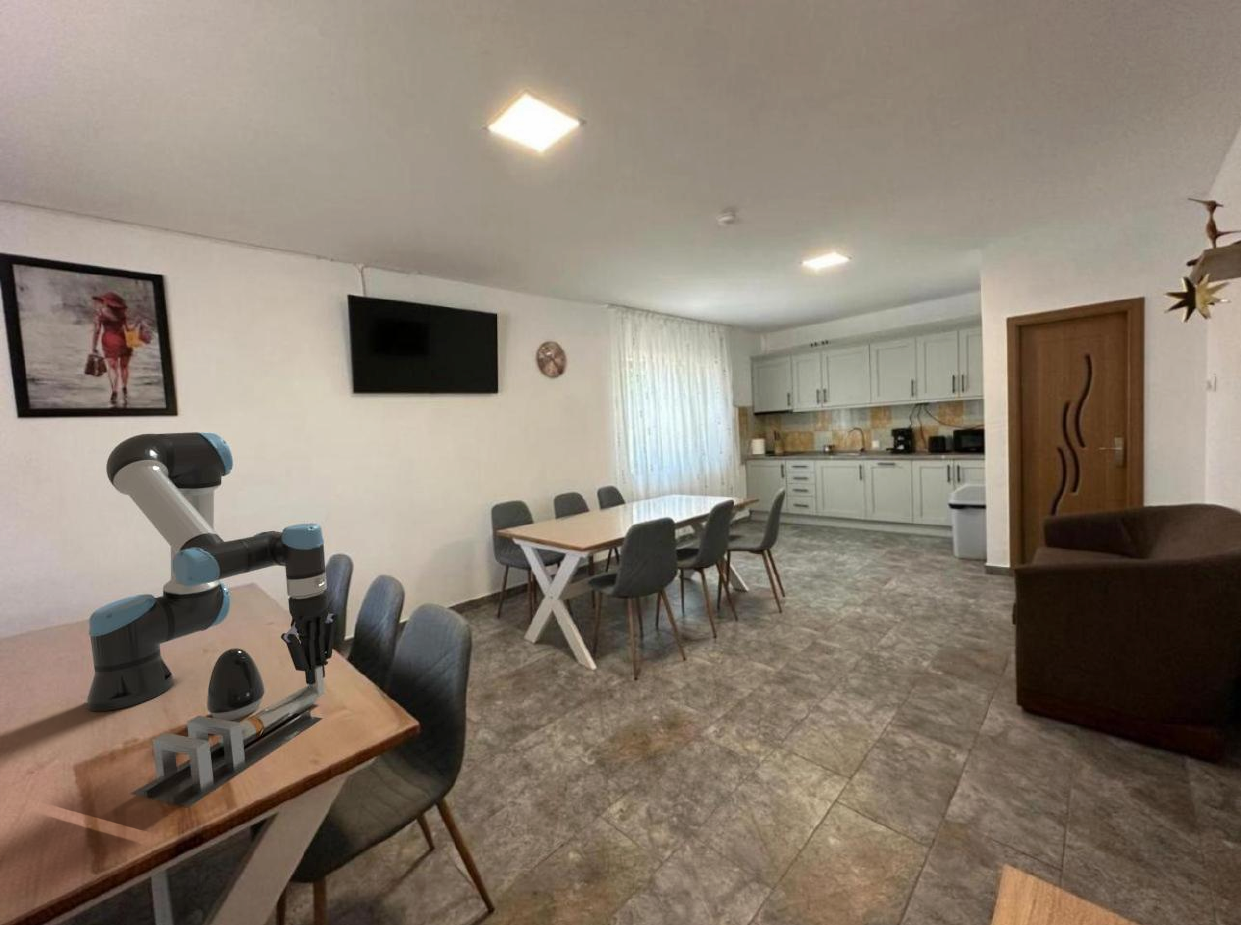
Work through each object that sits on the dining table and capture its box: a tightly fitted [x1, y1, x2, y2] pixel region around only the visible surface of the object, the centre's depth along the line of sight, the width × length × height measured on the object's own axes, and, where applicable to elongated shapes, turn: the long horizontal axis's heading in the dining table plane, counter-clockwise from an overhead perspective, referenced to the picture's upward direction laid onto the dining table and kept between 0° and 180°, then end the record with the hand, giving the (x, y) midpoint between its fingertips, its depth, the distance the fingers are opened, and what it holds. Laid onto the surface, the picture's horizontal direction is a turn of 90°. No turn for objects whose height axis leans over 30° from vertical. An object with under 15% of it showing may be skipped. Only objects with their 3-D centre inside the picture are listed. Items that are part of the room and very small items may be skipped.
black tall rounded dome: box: [206, 647, 266, 721], centre depth 111 cm, size 10×10×15 cm
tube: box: [218, 684, 319, 751], centre depth 105 cm, size 18×4×4 cm, turn 163°
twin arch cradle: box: [130, 710, 324, 808], centre depth 97 cm, size 14×26×9 cm, turn 163°
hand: (317, 694), depth 114 cm, fingers closed
